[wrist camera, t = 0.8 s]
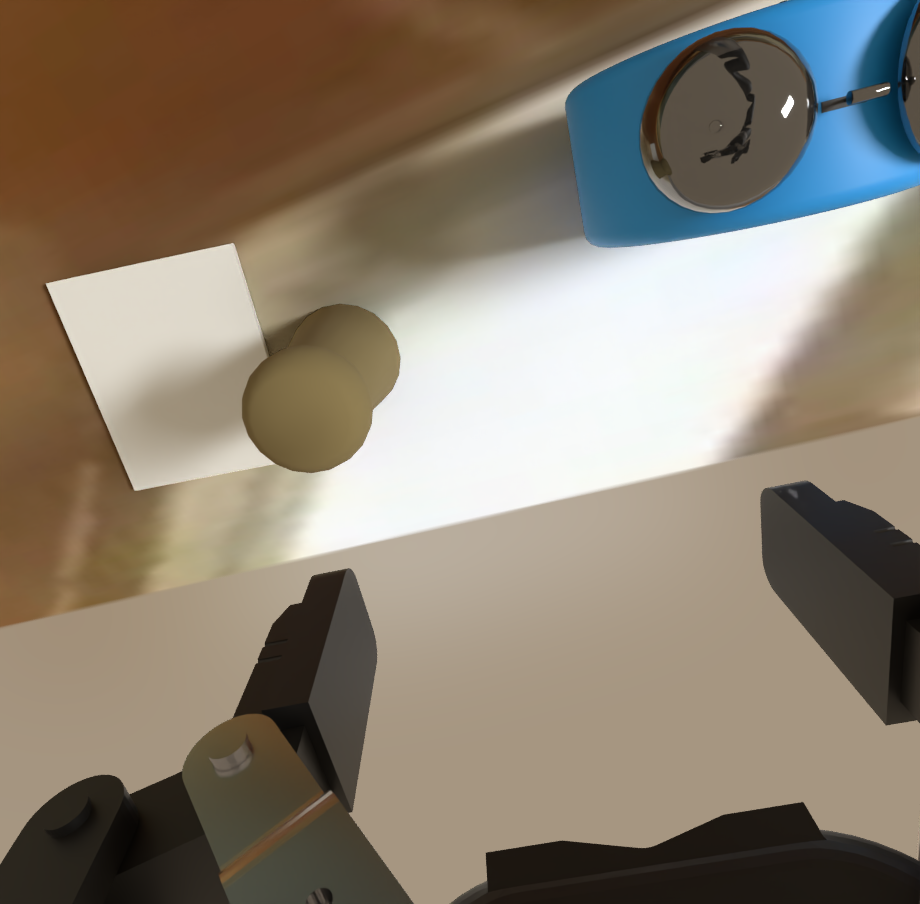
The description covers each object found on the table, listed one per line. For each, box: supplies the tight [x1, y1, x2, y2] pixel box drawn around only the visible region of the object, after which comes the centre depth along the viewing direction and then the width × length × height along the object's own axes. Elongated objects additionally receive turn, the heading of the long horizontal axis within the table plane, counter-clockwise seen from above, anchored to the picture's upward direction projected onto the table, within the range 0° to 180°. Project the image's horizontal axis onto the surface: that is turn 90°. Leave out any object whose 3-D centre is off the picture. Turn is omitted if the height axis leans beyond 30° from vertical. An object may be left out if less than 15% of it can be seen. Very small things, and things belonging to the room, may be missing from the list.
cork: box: [242, 304, 400, 473], centre depth 29 cm, size 6×6×11 cm
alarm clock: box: [565, 0, 920, 248], centre depth 23 cm, size 13×6×15 cm, turn 103°
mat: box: [46, 243, 275, 491], centre depth 34 cm, size 12×10×1 cm
